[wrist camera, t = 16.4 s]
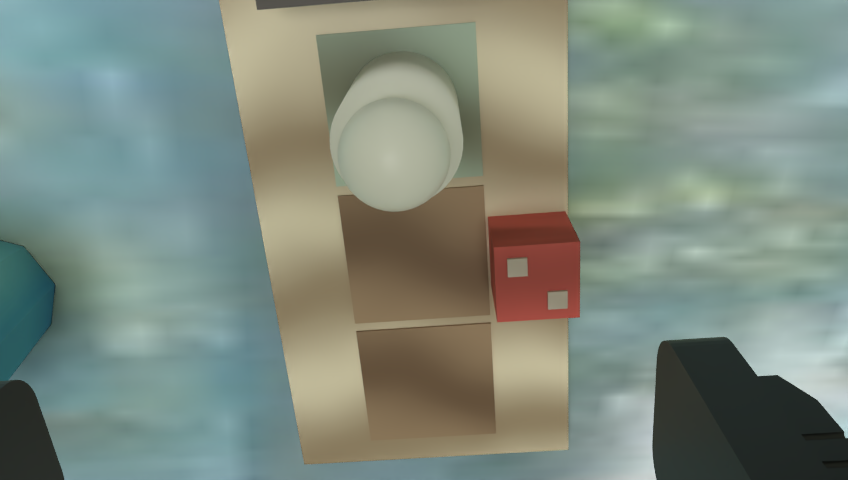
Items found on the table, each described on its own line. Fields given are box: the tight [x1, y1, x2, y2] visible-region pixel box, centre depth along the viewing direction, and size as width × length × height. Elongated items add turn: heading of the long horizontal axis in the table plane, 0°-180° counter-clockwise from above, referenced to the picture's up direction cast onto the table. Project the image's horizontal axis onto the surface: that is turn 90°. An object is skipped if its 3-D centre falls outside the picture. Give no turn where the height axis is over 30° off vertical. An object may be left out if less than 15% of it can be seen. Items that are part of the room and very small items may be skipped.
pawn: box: [330, 51, 463, 212], centre depth 22 cm, size 4×4×8 cm
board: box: [219, 0, 580, 464], centre depth 26 cm, size 28×12×5 cm, turn 5°
